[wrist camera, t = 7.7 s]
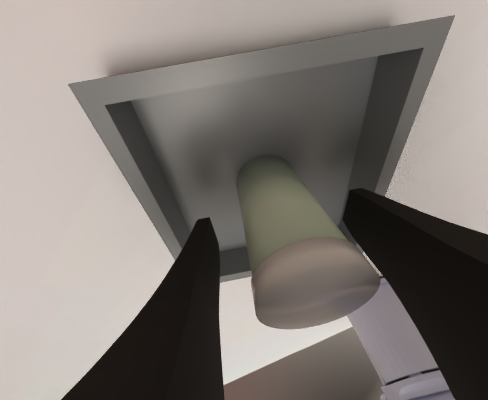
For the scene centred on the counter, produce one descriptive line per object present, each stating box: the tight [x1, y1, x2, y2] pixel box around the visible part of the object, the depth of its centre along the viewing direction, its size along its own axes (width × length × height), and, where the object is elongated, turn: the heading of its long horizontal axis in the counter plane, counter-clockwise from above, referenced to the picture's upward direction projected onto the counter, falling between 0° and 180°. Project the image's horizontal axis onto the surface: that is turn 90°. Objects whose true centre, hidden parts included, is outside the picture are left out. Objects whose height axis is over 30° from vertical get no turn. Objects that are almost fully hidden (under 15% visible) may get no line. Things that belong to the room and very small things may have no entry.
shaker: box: [236, 155, 380, 329], centre depth 9 cm, size 4×4×8 cm
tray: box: [68, 15, 455, 283], centre depth 12 cm, size 14×14×3 cm
